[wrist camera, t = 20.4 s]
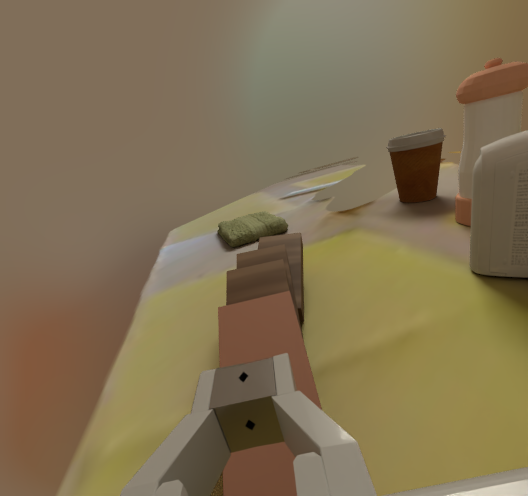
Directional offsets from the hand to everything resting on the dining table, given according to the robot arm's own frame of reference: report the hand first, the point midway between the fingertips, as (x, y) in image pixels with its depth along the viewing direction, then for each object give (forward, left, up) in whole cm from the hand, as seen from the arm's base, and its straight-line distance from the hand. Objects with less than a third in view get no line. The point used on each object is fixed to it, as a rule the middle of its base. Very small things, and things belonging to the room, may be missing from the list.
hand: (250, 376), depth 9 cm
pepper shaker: (+9, -41, -9) cm, 43 cm away
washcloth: (+45, -23, -9) cm, 52 cm away
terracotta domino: (0, 0, -8) cm, 8 cm away
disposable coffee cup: (+24, -50, -9) cm, 56 cm away
